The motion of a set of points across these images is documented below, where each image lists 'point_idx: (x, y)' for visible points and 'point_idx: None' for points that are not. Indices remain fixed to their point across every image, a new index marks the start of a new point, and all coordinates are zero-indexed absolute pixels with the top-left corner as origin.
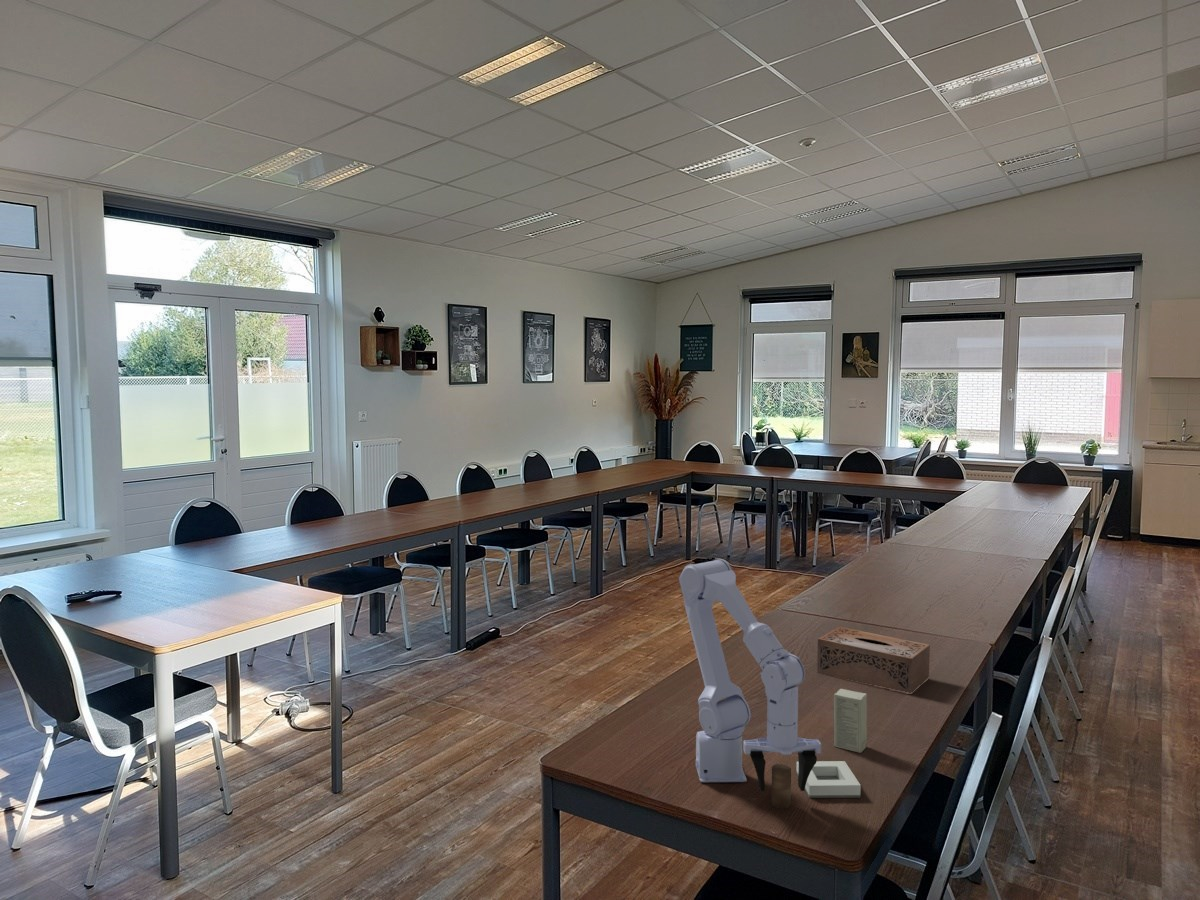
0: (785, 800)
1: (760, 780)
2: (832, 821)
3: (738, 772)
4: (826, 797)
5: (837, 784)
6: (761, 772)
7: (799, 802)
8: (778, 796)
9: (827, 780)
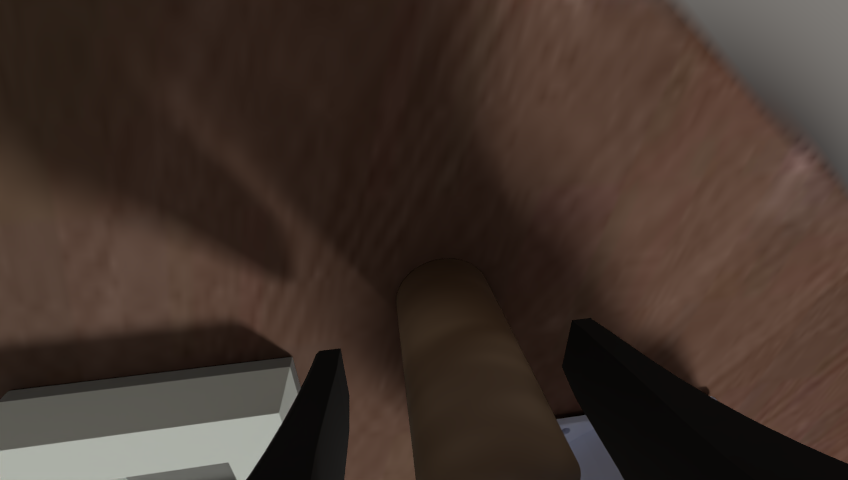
0: (439, 285)
1: (656, 364)
2: (156, 145)
3: (581, 458)
4: (201, 369)
5: (101, 444)
6: (712, 420)
7: (347, 317)
8: (483, 300)
9: (169, 466)
